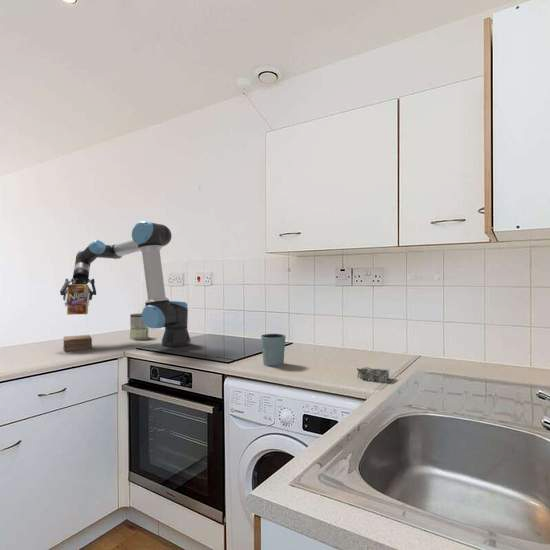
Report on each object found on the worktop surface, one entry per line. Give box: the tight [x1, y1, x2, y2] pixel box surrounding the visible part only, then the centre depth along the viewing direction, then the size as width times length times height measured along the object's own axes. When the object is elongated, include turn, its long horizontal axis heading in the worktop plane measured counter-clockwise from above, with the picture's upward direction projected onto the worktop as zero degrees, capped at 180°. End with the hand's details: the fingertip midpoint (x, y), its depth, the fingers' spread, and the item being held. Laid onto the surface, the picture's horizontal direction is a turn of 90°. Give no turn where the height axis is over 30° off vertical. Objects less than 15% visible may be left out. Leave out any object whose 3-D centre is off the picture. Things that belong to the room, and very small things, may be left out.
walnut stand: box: [63, 334, 93, 351], centre depth 187 cm, size 14×12×5 cm
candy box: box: [66, 283, 89, 315], centre depth 187 cm, size 9×4×15 cm, turn 103°
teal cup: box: [260, 333, 286, 368], centre depth 153 cm, size 10×10×12 cm
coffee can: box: [129, 313, 149, 340], centre depth 217 cm, size 10×10×14 cm
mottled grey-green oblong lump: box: [356, 366, 390, 383], centre depth 131 cm, size 11×8×4 cm
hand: (76, 304), depth 184 cm, fingers closed on candy box, 9 cm apart
